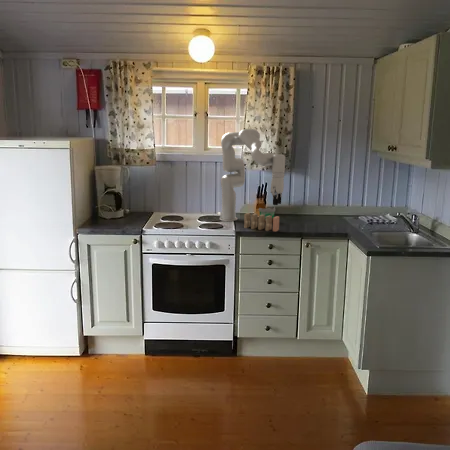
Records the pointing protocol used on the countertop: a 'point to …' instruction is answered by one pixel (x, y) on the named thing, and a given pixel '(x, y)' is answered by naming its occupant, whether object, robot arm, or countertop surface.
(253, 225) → the domino
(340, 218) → the countertop surface
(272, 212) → the food container
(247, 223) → the domino
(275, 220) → the domino
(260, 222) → the domino
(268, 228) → the domino
